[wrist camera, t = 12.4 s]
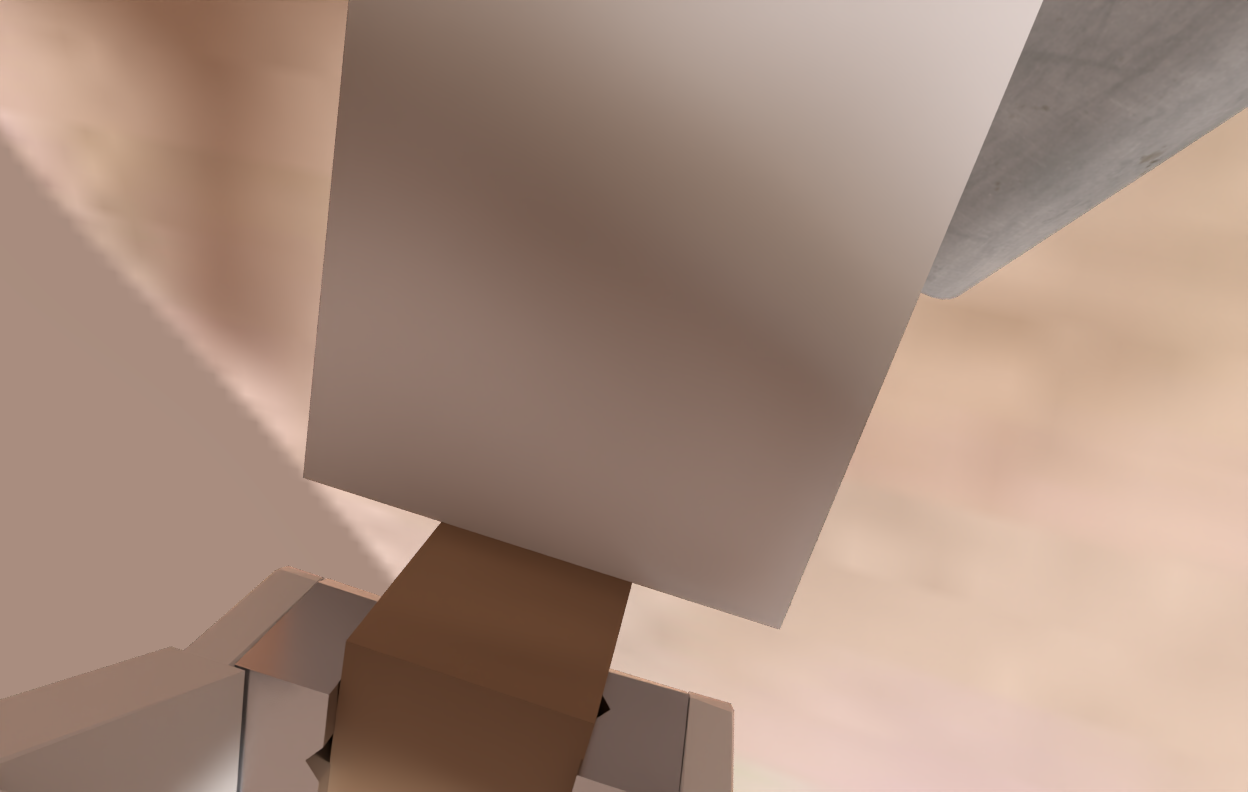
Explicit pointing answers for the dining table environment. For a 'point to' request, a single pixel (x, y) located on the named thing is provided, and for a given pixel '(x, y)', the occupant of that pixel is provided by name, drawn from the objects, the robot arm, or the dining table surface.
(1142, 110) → the hip flask
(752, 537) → the spatula
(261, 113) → the dining table surface
